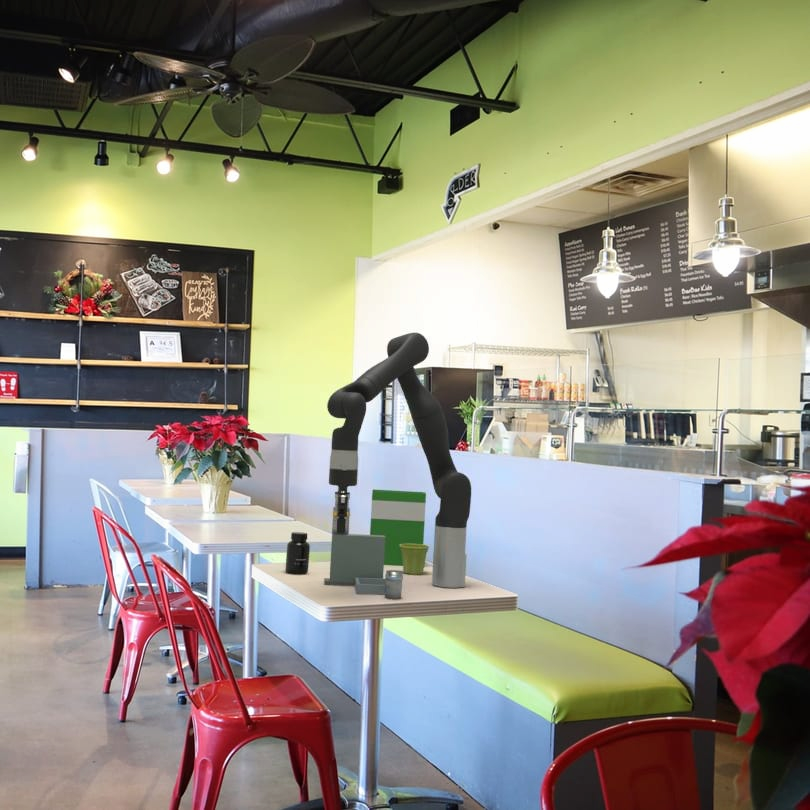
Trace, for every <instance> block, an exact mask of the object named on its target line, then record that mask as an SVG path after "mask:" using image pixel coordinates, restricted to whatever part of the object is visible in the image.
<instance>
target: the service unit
mask: <svg viewBox="0 0 810 810" xmlns="http://www.w3.org/2000/svg"><path fill="white" fill-rule="evenodd" d="M384 552H385V536H384V535H370V534H362V533H361V534H359V533H357V534H356V533H349V535H334V534H332V533H331V545H330V563H329V564H330V565H329V578H327V577H326V578H323V585H325V586H344V587H345V586H348V587H349V586H350V587H355V578H378V579H384V570H385V569H384V566H385V565H384Z"/></svg>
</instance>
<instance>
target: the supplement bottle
mask: <svg viewBox="0 0 810 810" xmlns="http://www.w3.org/2000/svg"><path fill="white" fill-rule="evenodd" d="M290 535H291V537H290V539H291V541H289V542H287V544H286V545H287V546H286V557H285V573H286V574H289V575H307V574H308V572H309V565H310V564H309V563H310V562H309V561H310V552H311V551H310V550H311V548H310V547H311V546H310V543H309V542H308V533H306V532H302V531H299V532H297V531H294V532H291V534H290Z"/></svg>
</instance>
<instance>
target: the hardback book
mask: <svg viewBox="0 0 810 810" xmlns="http://www.w3.org/2000/svg"><path fill="white" fill-rule="evenodd" d="M426 501H427V493H426V491H425V492H424V491H408V490H392V489H390V490H389V489H372V492H371V512H370V528H369V529H370V530H369V535H384V536H385V552H384V566H390V567H391V566H394V567H403V559H402V551H401V547H400V546H399V545H400V544H422V545H424V540H425V539H424V538H425V521H426Z"/></svg>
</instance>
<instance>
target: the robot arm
mask: <svg viewBox="0 0 810 810" xmlns="http://www.w3.org/2000/svg"><path fill="white" fill-rule="evenodd" d="M429 352H430V346H429V342H428V340H427V338H426V337H425V336H424V335H423V334H421V333H419V332H409V333H406V334H403V335H399V336H397V337H393V338H391V339H390V340H389V341H388V343H387V345H386V354H387V358H385V359H383V360H382V361H379V362H378V363H376V364H375V365H373V366H372V367H370V368H369V369H367V370H366V371H365V372H363V373H362V374H361V375H360V376H359V377H358V378H357V379H355V380H354V381H352V382H351V383H347V384H346V385H344V386H343V387H340V388H339V389H337V390H335V391H334V392H333V393H332V394H331V395H330V397H329V398H328V401H327V405H326V409H327V412H328V414H330V415H329V416H332V417H333V418H335V419H344V422H343V425H342V426H339V427H336V428H334V429H333V430H332V434H331V450H330V451H331V452H330V456H329V473H328V484H329V485H330V486H336V487H337V491H334V499H335V500H334V501H335V502H334V507H335V509H336V510H337V516H336V517H337V533H345V524H346V518H347V510H348V508H350V503H349V501H350V500H351V492H349V491H348V487H356V486H357V485H358V475H359V474H358V471H359V470H358V469H359V435H360V432H361V431H362V426H363V423H364V419H365V417H366V413H367V403H370V402H372V401H373V400H374V399H375V398H376V397H377V396H378V395H379V394H381V392H382V391H384V390H385V389H386V388H387V387H388V386H389V385H390V384H392V383H393V382H394V381H395V380H396V379H397V381H398V384H399V386H400V388H401V392H402V393H403V396H404V399H405V402H406V404H407V408H408V410H409V413H410V415H411V419H412V422H413V425H414V429H415V432H416V434H417V437H418V440H419V442H420V445H421V447H422V450H423V453H424V454H425V458H426V460H427V464H428V466H429V472H430V476H431V481H432V485H433V489H434V493H435V494H436V496H437V497H438V498H439V500H440V504H439V511H438V513H437V515H436V516H435V519H434V536H433V537H434V539H433V555H432V556H433V558H432V559H433V560H432V574H431V585H433V586H435V587H439V588H441V587H442V588H451V589H454V588H455V589H456V588H457V589H458V588H466V587H465V586H466V574H467V573H466V571H467V554H466V547H467V546H466V544H467V523H468V520H469V517H470V514H471V513H470V511H471V504H472V483H471V481H470V479H469V477H468V476H467V475H465V474H464V473H463V472H458V469H457V468H456V465H455V463H454V460H453V458H452V455H451V452H450V446H449V445H450V444H449V442H450V441H449V440H450V439H449V428H448V425H447V424H448V423H447V421H446V417H445V414H444V411H443V408H442V405H441V403H440V402H439V401H438V399H437V398H436V396H434V395H433V393H431V391H430V390H429V389H427V388H426V387H425V386H424V384H422V382H421V381H420V379H419V377H418V375H417V372H416V369H415V366H417V365H418V364H420V363H423V362H424V361H425V360H426V359H427V358H428V355H429ZM339 510H344V511H345V512H339Z"/></svg>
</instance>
